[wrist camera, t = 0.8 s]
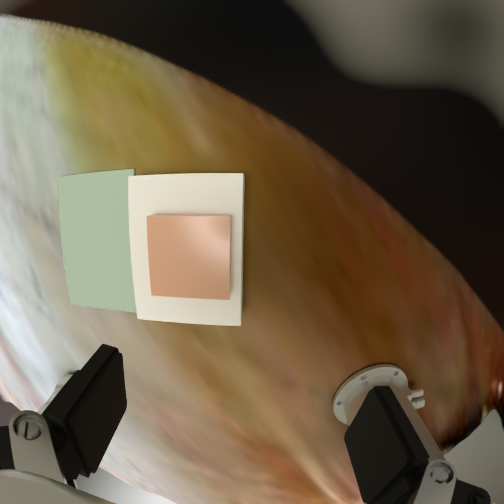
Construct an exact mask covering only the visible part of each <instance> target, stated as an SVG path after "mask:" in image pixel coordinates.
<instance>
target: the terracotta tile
mask: <svg viewBox="0 0 504 504" xmlns="http://www.w3.org/2000/svg"><path fill="white" fill-rule="evenodd" d="M147 242H148V259H149V273H150V285H151V296H165V297H181V298H199V299H220V300H230V296H231V263H232V214H152V215H149V216H147Z"/></svg>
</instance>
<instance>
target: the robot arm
mask: <svg viewBox="0 0 504 504" xmlns="http://www.w3.org/2000/svg"><path fill="white" fill-rule="evenodd" d="M423 393H424V392H423V389H422V388H420V389H415V390H412V391H411V390H410V389H409V388H408V380H407V377H406V375H405V373H404V372H403V371H402V370H401V369H400V368H399V367H397V366H395V365H391V364H378V365H374V366H370V367H367V368H365V369H363V370H361V371H359V372H357V373H355V374H354V375H352V376H351V377H350V378H348V379H347V380H346V381H345V382H344V383H343V384H342V385H341V386H340V388H339V389H338V390H337V392H336V394H335V396H334V399H333V405H332V407H333V411H334V414H335V417H336V418H337V419H338V420H339V421H341V422H342V423H344V424H347V425H349V428H348V429H347V431H346V433H345V437H344V440H345V443H346V447H347V450H348V453H349V456H350V460H351V463H352V466H353V469H354V473H355V476H356V479H357V483H358V486H359V490H360V493H361V497H362V500H363V502H364V503H367V504H490V502H491V500H490V496H489V494H488V492H487V491H486V490H484V489H482V488H479V487H477V486H474V485H471V484H468V483H466V482H463V481H460V480H459V479H458V478H457V473H456V470H455V468H454V466H453V465H452V464H451V463H449V462H448V461H446V459H445V458H444V456H443V454H442V453H441V451H440V449H439V447H438V446H437V444H436V442H435V441H434V439H433V437H432V436H431V434H430V432H429V431H428V429H427V427H426V426H425V424H424V422H423V421H422V419H421V417H420V416H419V414H418V413H417V411H416V409H418V408H422V407H424V405H425V399H424V398H423V397H420V396H422V395H423ZM414 397H419V398H415V399H412V398H414ZM126 407H127V399H126V390H125V380H124V369H123V356H122V353H119V350H118V348H116V347H112V346H109V345H106V344H102V345H101V346H100V347H99V349H98V350H97V351H96V352H95V353H94V355H93V356H92V357H91V358H90V359H89V361H88V362H87V363H86V364H85V365H84V367H83V368H82V369H81V370H77V371H76V372H75V373H74V374H73V375H72V376H71V377H70V379H69V380H68V381H67V382H66V384H65V385H64V386H63V387H62V388H61V390H60V391H59V392H58V393H57V395H56V396H55V397H54V399H53V400H52V401H51V402H50V404H49V405H48V406H47V407H46V409H45V410H44V411H43V413H42V414H41V415H40V414H39V413H37V412H34V411H30V410H24V411H20V412H18V413H16V414H15V415H14V416H13V417H12V418H11V420H10V422H9V426H1V427H0V504H115V503H112V502H109V501H107V500H104V499H102V498H99V497H96V496H94V495H91V494H89V493H86V492H84V491H81V490H79V489H78V487H77V484H76V482H75V479H77V477H78V475H79V474H80V475H83V476H85V477H87V478H88V477H89V476H90V473H91V472H92V473H95V472H96V471H97V469H98V467H99V464H100V462H101V460H102V458H103V456H104V454H105V452H106V450H107V448H108V445H109V443H110V441H111V439H112V437H113V435H114V433H115V431H116V429H117V427H118V425H119V423H120V421H121V419H122V417H123V415H124V413H125V411H126ZM492 504H495V503H492Z"/></svg>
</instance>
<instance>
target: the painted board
mask: <svg viewBox="0 0 504 504" xmlns="http://www.w3.org/2000/svg"><path fill="white" fill-rule="evenodd" d="M244 189H245V175H244V174H243V173H192V174H160V175H141V176H128V210H129V236H130V252H131V265H132V276H133V286H134V295H135V303H136V311H137V318H138V319H145V320H155V321H166V322H178V323H192V324H208V325H227V326H241V318H242V298H243V237H244ZM152 214H232V263H231V296H230V300H220V299H199V298H181V297H165V296H151V285H150V273H149V259H148V242H147V216H149V215H152Z"/></svg>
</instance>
